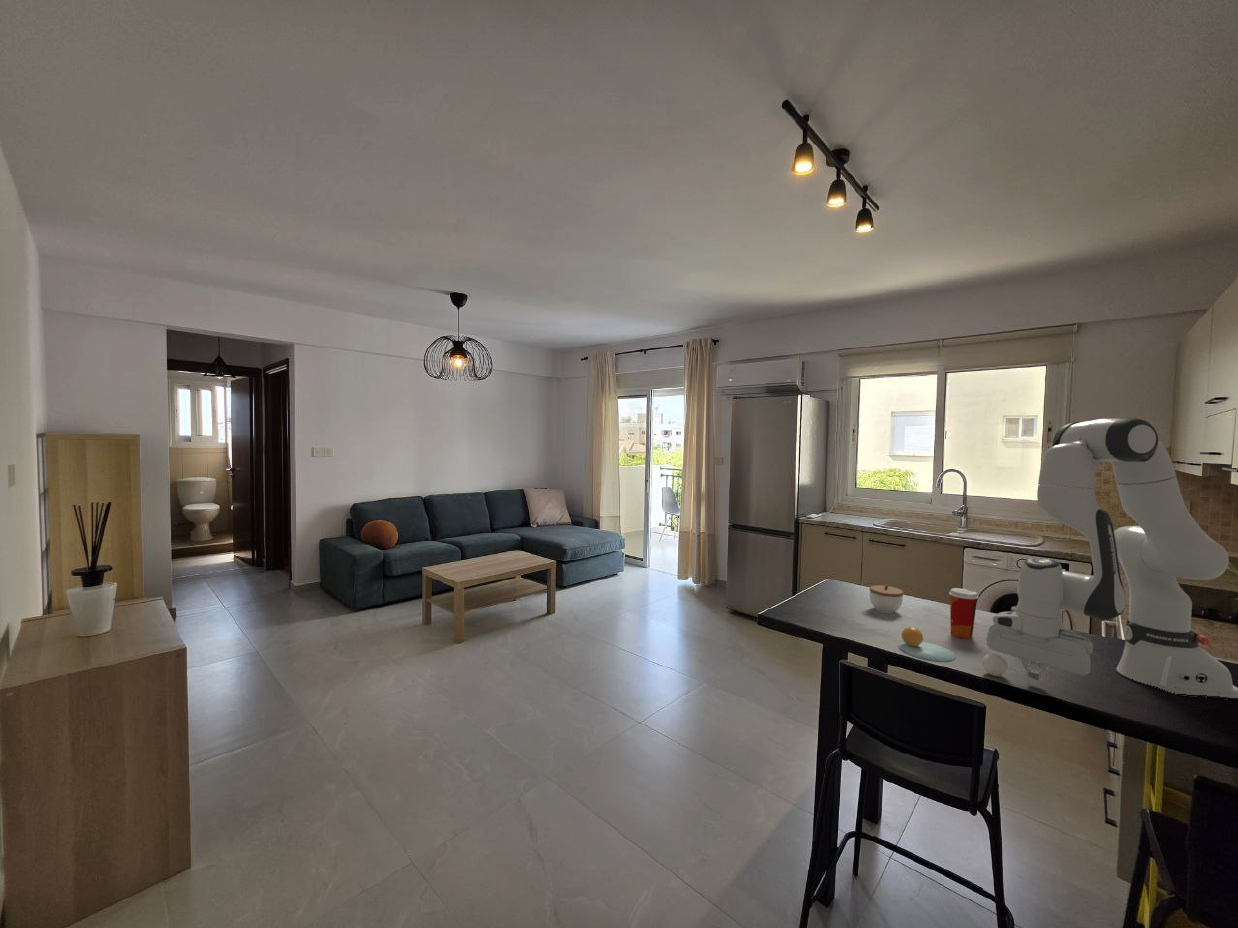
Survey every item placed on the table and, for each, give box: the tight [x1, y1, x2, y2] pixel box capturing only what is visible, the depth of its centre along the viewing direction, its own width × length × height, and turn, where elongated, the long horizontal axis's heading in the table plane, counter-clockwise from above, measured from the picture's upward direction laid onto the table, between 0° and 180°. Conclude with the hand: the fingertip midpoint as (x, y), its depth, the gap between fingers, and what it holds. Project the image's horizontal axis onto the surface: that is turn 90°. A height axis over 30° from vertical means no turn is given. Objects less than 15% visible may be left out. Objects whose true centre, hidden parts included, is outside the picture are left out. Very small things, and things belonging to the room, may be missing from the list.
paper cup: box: [948, 587, 979, 639], centre depth 162 cm, size 8×8×14 cm
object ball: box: [901, 626, 924, 647], centre depth 153 cm, size 6×6×6 cm
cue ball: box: [981, 653, 1009, 677], centre depth 135 cm, size 6×6×6 cm
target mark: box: [898, 641, 956, 663], centre depth 149 cm, size 14×14×1 cm
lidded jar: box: [869, 584, 904, 615], centre depth 185 cm, size 11×11×9 cm
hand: (1034, 678), depth 130 cm, fingers closed
